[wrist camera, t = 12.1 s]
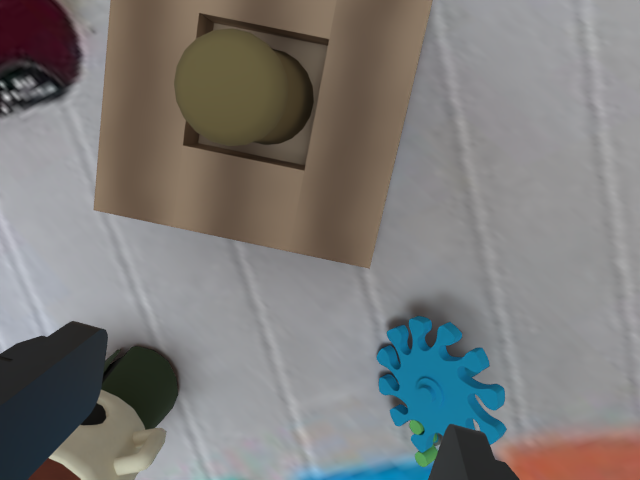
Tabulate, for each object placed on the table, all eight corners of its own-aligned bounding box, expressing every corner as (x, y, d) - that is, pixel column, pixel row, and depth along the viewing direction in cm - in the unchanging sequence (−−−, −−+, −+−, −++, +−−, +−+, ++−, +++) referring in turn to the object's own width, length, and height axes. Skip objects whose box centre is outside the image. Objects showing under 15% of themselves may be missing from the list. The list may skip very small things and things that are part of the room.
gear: (383, 295, 34) (515, 375, 27) (436, 277, 37) (563, 344, 31) (359, 420, 38) (467, 517, 31) (408, 393, 42) (515, 474, 35)
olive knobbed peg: (331, 114, 32) (318, 111, 21) (253, 162, 33) (203, 182, 22) (282, 28, 31) (242, -20, 20) (203, 81, 32) (126, 62, 21)
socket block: (431, -23, 30) (442, -44, 26) (368, 251, 35) (369, 268, 31) (149, -79, 31) (119, -107, 27) (122, 199, 35) (93, 209, 31)
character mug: (193, 324, 37) (109, 429, 24) (221, 406, 39) (154, 545, 26) (64, 352, 38) (-78, 466, 26) (96, 430, 40) (-24, 573, 27)
